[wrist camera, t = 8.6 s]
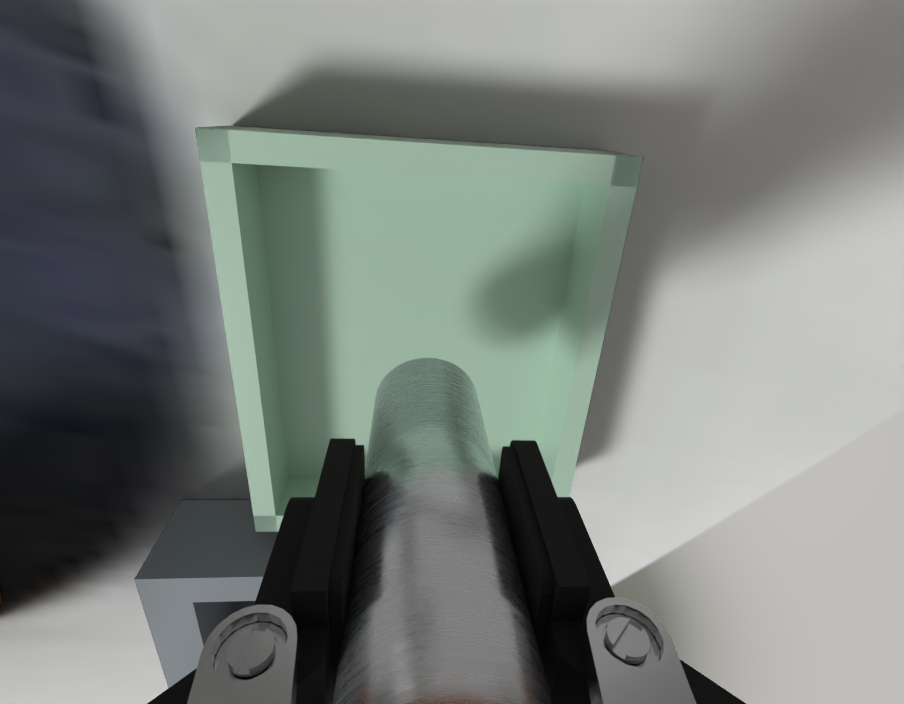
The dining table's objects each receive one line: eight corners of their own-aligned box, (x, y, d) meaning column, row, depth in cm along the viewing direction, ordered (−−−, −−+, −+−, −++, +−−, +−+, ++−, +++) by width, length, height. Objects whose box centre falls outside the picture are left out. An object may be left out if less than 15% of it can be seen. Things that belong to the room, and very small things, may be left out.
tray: (231, 125, 15) (195, 127, 12) (607, 151, 16) (643, 157, 14) (274, 481, 21) (255, 531, 18) (544, 481, 22) (562, 528, 20)
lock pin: (360, 343, 14) (235, 861, 4) (496, 347, 14) (680, 828, 5) (362, 455, 16) (275, 1018, 6) (484, 457, 16) (599, 988, 6)
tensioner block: (181, 500, 21) (109, 621, 16) (367, 499, 22) (355, 613, 17) (220, 670, 26) (175, 801, 21) (370, 664, 27) (361, 789, 22)
